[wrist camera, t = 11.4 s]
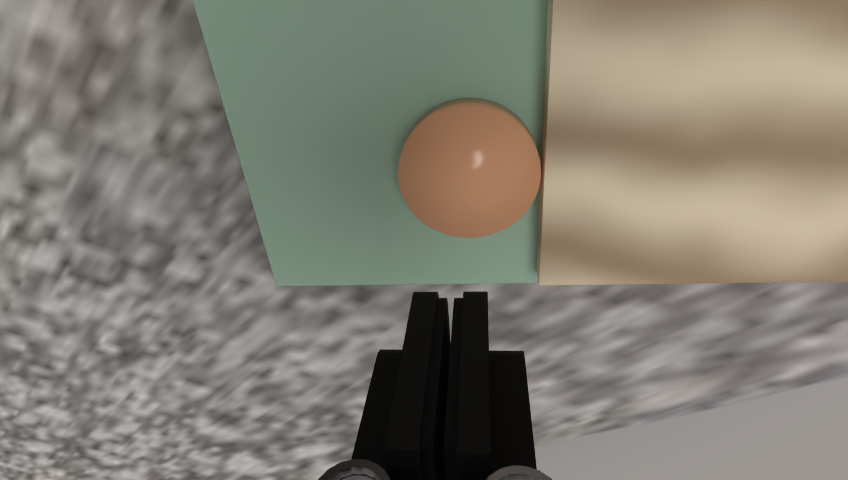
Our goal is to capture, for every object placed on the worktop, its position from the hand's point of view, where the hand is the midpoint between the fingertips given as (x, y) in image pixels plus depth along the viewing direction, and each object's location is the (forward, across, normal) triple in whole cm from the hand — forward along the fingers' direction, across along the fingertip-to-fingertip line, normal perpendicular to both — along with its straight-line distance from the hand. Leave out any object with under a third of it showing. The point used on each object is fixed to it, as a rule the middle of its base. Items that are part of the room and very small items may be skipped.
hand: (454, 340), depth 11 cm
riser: (+16, -13, +1) cm, 20 cm away
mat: (+15, +4, +1) cm, 16 cm away
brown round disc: (+15, 0, +2) cm, 15 cm away
